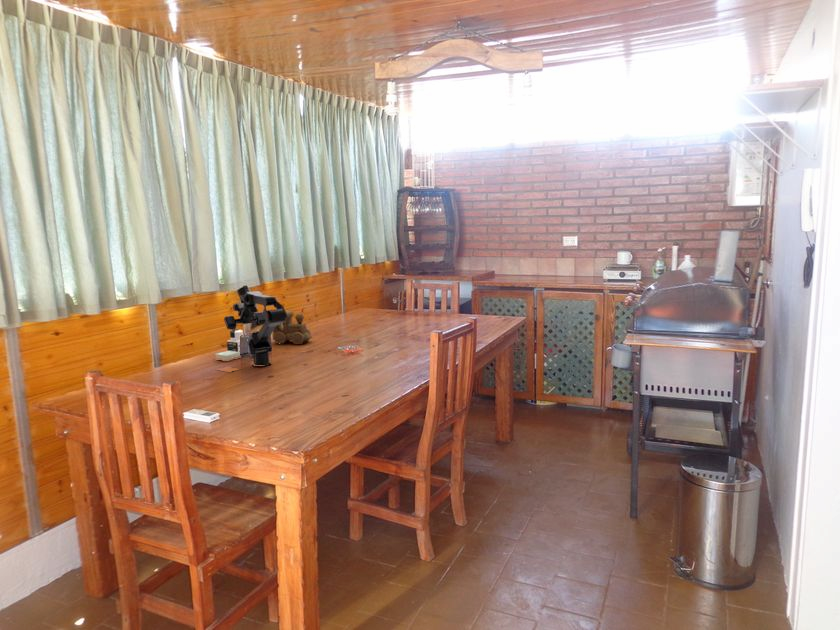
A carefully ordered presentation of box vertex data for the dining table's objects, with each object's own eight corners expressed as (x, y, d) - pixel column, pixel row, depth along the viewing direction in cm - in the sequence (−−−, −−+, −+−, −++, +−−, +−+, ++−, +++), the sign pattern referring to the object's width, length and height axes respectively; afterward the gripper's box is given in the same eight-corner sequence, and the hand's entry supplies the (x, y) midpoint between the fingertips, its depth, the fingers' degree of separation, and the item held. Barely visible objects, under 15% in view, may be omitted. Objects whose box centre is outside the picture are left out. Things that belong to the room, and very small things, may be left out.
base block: (240, 358, 285) (239, 352, 284) (227, 361, 278) (226, 355, 278) (229, 356, 289) (228, 350, 288) (215, 360, 282) (215, 353, 282)
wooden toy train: (269, 344, 313) (267, 313, 311) (279, 340, 324) (277, 310, 321) (304, 345, 309) (303, 314, 306) (313, 341, 320) (311, 310, 317)
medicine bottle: (227, 354, 293) (225, 331, 291) (238, 351, 299) (236, 328, 297) (238, 356, 289) (236, 332, 287) (248, 352, 296) (246, 329, 294)
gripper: (262, 295, 284) (255, 315, 295) (223, 299, 273) (217, 319, 284) (269, 313, 279) (262, 333, 290) (230, 318, 268) (224, 338, 279)
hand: (241, 330), depth 286 cm, fingers open, 9 cm apart
